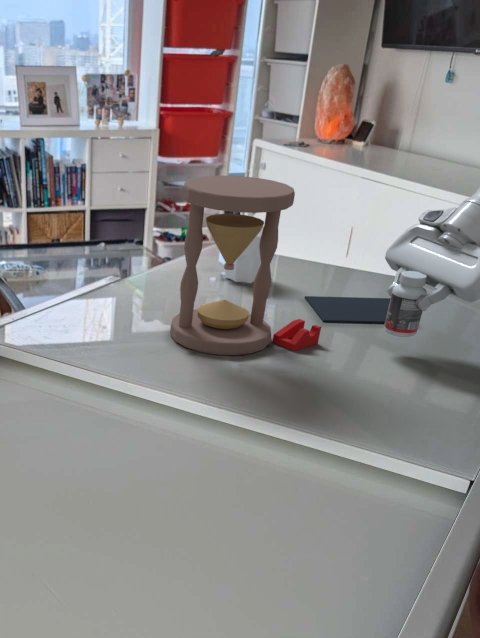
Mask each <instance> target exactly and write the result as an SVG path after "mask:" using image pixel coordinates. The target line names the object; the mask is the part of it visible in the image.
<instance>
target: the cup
mask: <svg viewBox="0 0 480 638" xmlns="http://www.w3.org/2000/svg"><path fill="white" fill-rule="evenodd" d="M263 228H264V225H263V227H262V229H261V231H260V232H259V234H258V235H257V236H256V237H255V238H254V240H253V241H252V242H251V243H250V245H249V246H248V247H247V248H246V249H245V250H244V251H243V253H242V254H241V255H240V256H239V257H238V258H237V260H236V261H235V262H234V263H233V264H234V269H233V270H226V269H224V278H225V279H229V280H231V281H233V282H235V283H238V282H239V283H246V284H253V283H254V279H255V276H256V274H257V272H258V269H259V267H260V265H261V259H260V249H259V244H260V238H261V235H262V231H263Z"/></svg>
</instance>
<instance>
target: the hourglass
mask: <svg viewBox="0 0 480 638" xmlns="http://www.w3.org/2000/svg"><path fill="white" fill-rule="evenodd" d="M295 196H296V192H295V189H294V187H292V186H290V185H288V184H286V183H283V182H279V181H276V180H272V179H267V178H260V177H255V176H252V177H251V176H244V175H243V176H241V175H205V176H198V177H192V178H189V179H186V180H185V181H184V184H183V187H182V198H183V200H184V201H186V202H187V203H188V204H190V205H189V214H188V225H187V230H186V234H185V237H184V245H183V251H184V255H185V256H184V257H185V263H186V264H185V265H186V266H185V269H184V272H183V275H182V277H181V280H180V286H179V294H180V295H179V296H180V306H179V313H178V314H176V315H175V316H173V318H172V319H171V324H170V329H169V335H170V336H171V338H172V339H173V340H174V342H175V343H177V344H179V345H180V346H182V347H184V348H187V349H190V350H193V351H195V352H199V353H203V354H209V355H210V354H211V355H216V356H242V355H249V354H251V355H252V354H254V353H257V352H259V351H263V350H264V349H265V348H267V346H268V345H269V344H270V343H271V340H272V339H271V338H272V328H271V325H269V324H268V323H267V322H266V321H265V320H264V319H265V312H266V306H267V305H266V304H267V300H268V297H269V295H270V291H271V287H272V273H271V263H272V261H273V259H274V256H275V254H276V251H277V249H278V244H279V225H280V219H281V213H282V211H284V210H288V209H290V208H291V207H292V206H293V205H294V201H295ZM205 209H210V210H215V211H221V212H232V213H216V214H210V215H208V216H206V218H205V221H206V222H205V223H206V227H207V229H208V231H209V233H210V234H211V238H212V239H213V241H214V244H215V246H216V248H217V249H218V251H219V253H220V255H221V257H222V259H223V260H224V262H225V263H224V264H223V265H224V266H223V270H225V269H226V270H233V269H234V264H233V263H234V262H235V261H236V260H237V258H238V257H239V256H240V255H241V254H242V253H243V251H244V250H245V249H246V248H247V247H248V246H249V245H250V243H251V242H252V241H253V240H254V238H255V237H256V236H257V235H258V234H259V232H260V231H261V229H262V227H263V226H264V228H263V231H262V235H261V238H260V244H259V249H260V259H261V265H260V267H259V269H258V272H257V274H256V276H255V279H254V282H253V284H252V285H253V286H252V288H253V289H252V305H251V311H249V310H248V309H246V308H245V307H242V306H240V305H238V304H235V303H234V302H232V301H229V300H227V299H221V300H217V301H211V302H207V303H204V304H201V305H199V306H198V307H197V309H194V308H195V302H196V298H197V294H198V289H199V278H198V271H197V264H198V261H199V258H200V256H201V253H202V250H203V241H204V237H203V236H204V235H203V225H204V215H205V213H204V212H205ZM239 213H245V214H239ZM246 213H249V214H257V213H258V214H260V213H262V214H263V213H265V218H264V220H262V219H261V218H259V217H255V216H251V215H247V214H246Z"/></svg>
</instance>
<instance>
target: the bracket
mask: <svg viewBox="0 0 480 638" xmlns="http://www.w3.org/2000/svg"><path fill="white" fill-rule="evenodd" d="M305 324H306V321H305V320H303V319H301V318H297V319H294V320H291V322H288V323H287V324H286V325H285V326H283V327H282V328H280V329H279V330H278V331H275V332H274V333H273V334H272V335H273V337H272V343H273V344H275V345H278V346H280V347H282V348H285V349H288V350H290V351H293V352H295V351H296V352H297V351H299V350H302V349H304V348H308V347H311V346H314V345H318V344H319V340H320V335H321V331H322V326H321V325H318V324H314V325H311V328H310V330H309V329H306V328H305Z"/></svg>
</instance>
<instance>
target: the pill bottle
mask: <svg viewBox="0 0 480 638" xmlns="http://www.w3.org/2000/svg"><path fill="white" fill-rule="evenodd" d="M426 278H427V276H426V275H425V274H422V273H420V272H416V271H404V272H402V273H401V276H400V279H399V280H400V284H399V285H397V286H395V287H394V289H393V291H392V295H391V296H390V298H391V299H390V304H389V308H388V312H387V316H386V320H385V324H384V325H383V330H384V332H385V333H386V334H389V335H391V336H395V337H399V338H410V337H414V336H415V335H416V334H417V332H418V329H419V326H420V322H421V318H422V315H423V311H421V310H420V309H418V308H416V306H415V304H414V302H415V301H416V300H417V299H418V298H419V297H420V296H421V295H424V296H426V295H427V294H428V291H427V289H426V288H424V286H426V284H425V283H426Z"/></svg>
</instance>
